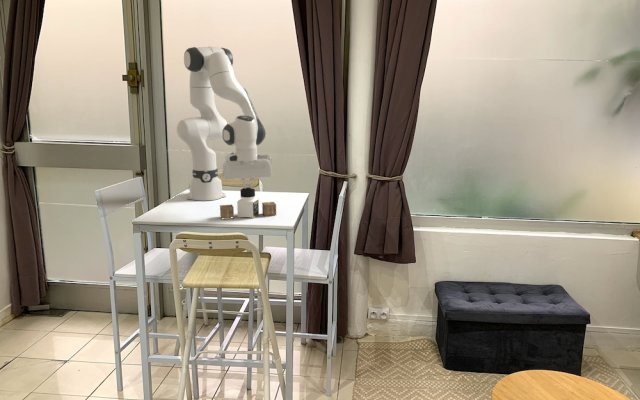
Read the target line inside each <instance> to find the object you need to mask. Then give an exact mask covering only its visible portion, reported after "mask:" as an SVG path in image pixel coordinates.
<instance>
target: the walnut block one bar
mask: <svg viewBox="0 0 640 400" xmlns="http://www.w3.org/2000/svg"><path fill="white" fill-rule="evenodd" d="M219 212H220V215H219V216H221V217H220V219H221V218H231V217H234V218H235V210H234V206H233V204H220V205H219Z"/></svg>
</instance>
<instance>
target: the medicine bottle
mask: <svg viewBox="0 0 640 400" xmlns="http://www.w3.org/2000/svg"><path fill="white" fill-rule="evenodd" d="M236 201H237V200H236ZM259 201H260V200H259V198H258V197H256V190H255V188H253V187H251V188H249V189H244V187H243V188H241V189H240V199H239V200H238V201H237V202H236V203H237V205H236V206H237V207H236V208H237V218H238V217H252V218H251V219H255V218H256V217H257V216H259V214H260V209H259V208H260V207H259V205H260V204H259ZM254 217H255V218H254Z"/></svg>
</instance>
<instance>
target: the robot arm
mask: <svg viewBox="0 0 640 400" xmlns="http://www.w3.org/2000/svg"><path fill="white" fill-rule="evenodd" d="M183 62H184V66H185V68H186V69H187V70H188V71H190V73H189V74H190V75H189V101H190V105H191V106H192V107H193V108H195V109H197V110H198V111H199V113H200V116H198V117H197V116H196V117H194V116H193V117H188V118H184V119H181V120H179V121H178V123H177V127H176V133H177V135H178V137H179V138H180V139H181V140H182V141H183V142H185V143H186V145H187V146H188V148H189V149H190V152H191V158H192V168H193V169H192V172H191V173H192V179H191V180H190V182H189V183H188V189H189V192H188V194H187V195H186V199H187V200H193V201H203V202H204V201H214V200H219V199H221V198H225V197H227V194H226V193H224V192H223V186H222V180H221V178H219V169H218V167H217V153H216V152H215V150H214V149H212V148H210V147H209V146H208V145H207V142H206V141H210V140H218V139H223V142H225V144H226V145H228V146H233V147H234V146H235V150H234V152H233V151H232V152H230V153H226V154H225V155H224V160H225V161H224V162H223V164H222V178H224V180H235V179H236V180H237V179H240V182H242V184H243V188H244V189H249V188H252V184H253V183H254V181H255V179H254V178H270V177H271V176H272V166H271V165H272V157H271V156H270V155H268V154H264V155H263V154H258V146H259V145H261V144H262V143H263V141H264V140H265V138H266V134H267V133H266V129H265V127H264V125H263V123H262V121H261V120H260V118H259V116H258V114H257V111H256V109H255V106H254V104H253V101H252V99H251V97H250V94H249V93H248V91H247V90H246V88H245V87H243V86H242V85H241V84H240V82H239V81H238V79H237V77H236V74H235V71H234V67H233V64H234V57H233V54H232V51H231V50H230V49H228V48H225V47H217V46H215V47H214V46H201V47H196V46H195V47H194V46H193V47H188V48H186V49H185V52H184V55H183ZM215 95H216V96H218V97H219V98H220V99H224V100H227V101H229V102H232V103H235V104H236V105H238V106H239V108H240V109H241V111H242V113H243V115H238V116H236V117H235V120H234V121H233V122H229V123H228V121H227V120H226V119H225V118H224V117H223V116H222V115H221V114H220V113H219V111H218V109H217V106H216V100H215ZM246 179H249V180H250V181H249V183H246V182H245V181H246Z"/></svg>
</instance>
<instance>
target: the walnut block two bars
mask: <svg viewBox="0 0 640 400" xmlns="http://www.w3.org/2000/svg"><path fill="white" fill-rule="evenodd" d="M261 206H262V207H261V208H262V209H261V210H262V212H261V213H263V214H262V215H263V216H264V217H272V216H273V217H275V215H276V216H277V204H276V202H275V201H266V202H265V201H263V202H261Z"/></svg>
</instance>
